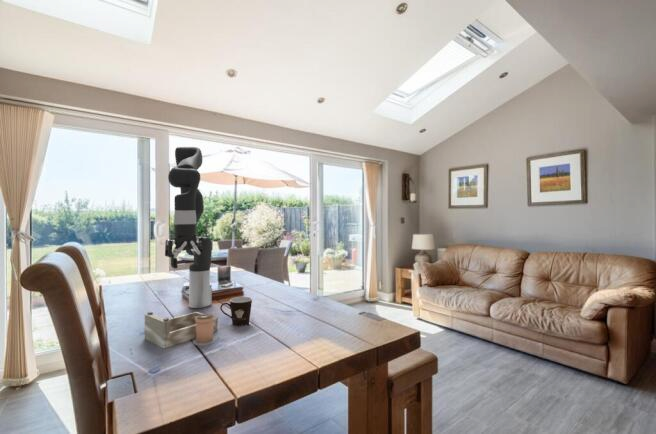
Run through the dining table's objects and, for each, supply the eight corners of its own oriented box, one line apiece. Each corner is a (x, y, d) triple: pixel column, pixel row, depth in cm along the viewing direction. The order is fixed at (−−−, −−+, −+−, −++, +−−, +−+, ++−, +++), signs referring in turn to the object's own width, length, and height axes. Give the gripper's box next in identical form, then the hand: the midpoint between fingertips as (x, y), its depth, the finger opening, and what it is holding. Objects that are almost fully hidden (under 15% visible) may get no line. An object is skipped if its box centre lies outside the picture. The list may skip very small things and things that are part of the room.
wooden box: (196, 324, 125) (196, 300, 125) (217, 331, 116) (217, 306, 116) (143, 339, 109) (144, 312, 109) (164, 350, 100) (164, 320, 100)
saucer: (209, 335, 113) (209, 333, 113) (223, 341, 108) (223, 338, 108) (187, 343, 106) (187, 340, 106) (201, 349, 101) (201, 346, 101)
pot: (207, 335, 111) (207, 312, 111) (217, 339, 108) (218, 315, 107) (191, 340, 106) (191, 316, 106) (201, 345, 103) (201, 320, 102)
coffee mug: (256, 322, 127) (256, 297, 127) (243, 329, 119) (244, 303, 119) (232, 318, 131) (232, 295, 131) (218, 325, 123) (218, 300, 123)
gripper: (196, 221, 123) (197, 262, 124) (160, 223, 111) (161, 268, 112) (208, 222, 119) (208, 264, 119) (172, 224, 107) (172, 270, 107)
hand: (185, 266), depth 115 cm, fingers open, 8 cm apart
